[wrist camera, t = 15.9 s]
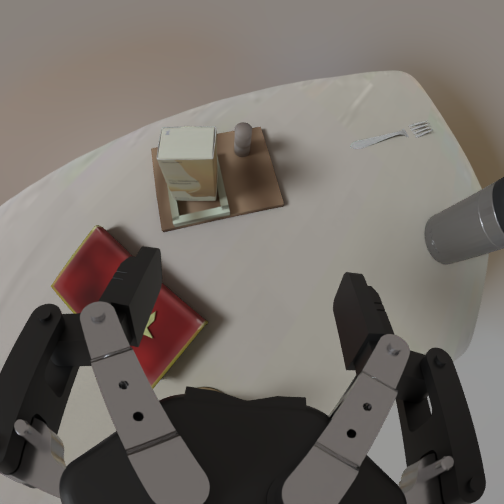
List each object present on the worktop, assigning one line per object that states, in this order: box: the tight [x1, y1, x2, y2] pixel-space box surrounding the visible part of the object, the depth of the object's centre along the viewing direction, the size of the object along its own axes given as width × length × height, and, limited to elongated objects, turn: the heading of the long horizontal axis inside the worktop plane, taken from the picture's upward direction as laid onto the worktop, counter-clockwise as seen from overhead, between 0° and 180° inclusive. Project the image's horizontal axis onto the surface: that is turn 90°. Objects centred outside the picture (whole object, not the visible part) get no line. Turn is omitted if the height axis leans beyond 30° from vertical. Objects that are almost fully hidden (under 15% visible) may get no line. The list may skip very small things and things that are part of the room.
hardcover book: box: [51, 225, 208, 389], centre depth 38 cm, size 12×21×4 cm, turn 52°
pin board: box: [151, 123, 284, 232], centre depth 40 cm, size 18×14×7 cm
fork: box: [350, 121, 433, 149], centre depth 48 cm, size 3×24×2 cm, turn 113°
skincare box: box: [157, 126, 218, 201], centre depth 35 cm, size 6×4×12 cm
